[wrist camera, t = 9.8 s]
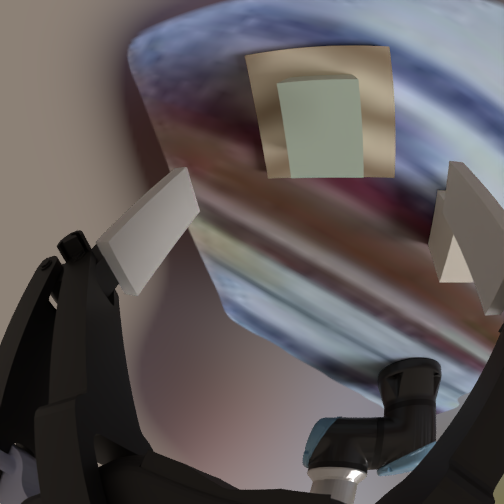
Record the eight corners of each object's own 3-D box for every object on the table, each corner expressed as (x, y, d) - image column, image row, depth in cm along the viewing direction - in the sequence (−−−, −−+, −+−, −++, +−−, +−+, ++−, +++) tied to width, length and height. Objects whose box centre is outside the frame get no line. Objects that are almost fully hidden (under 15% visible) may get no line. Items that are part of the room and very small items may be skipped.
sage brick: (357, 150, 26) (363, 177, 21) (300, 151, 28) (291, 178, 23) (351, 74, 21) (358, 79, 16) (289, 77, 23) (276, 83, 18)
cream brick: (465, 245, 30) (480, 282, 25) (427, 244, 32) (439, 282, 27) (477, 193, 25) (500, 225, 20) (437, 190, 27) (456, 222, 22)
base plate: (392, 172, 28) (394, 177, 27) (270, 173, 32) (268, 178, 31) (386, 47, 19) (389, 46, 18) (248, 55, 24) (244, 55, 23)
